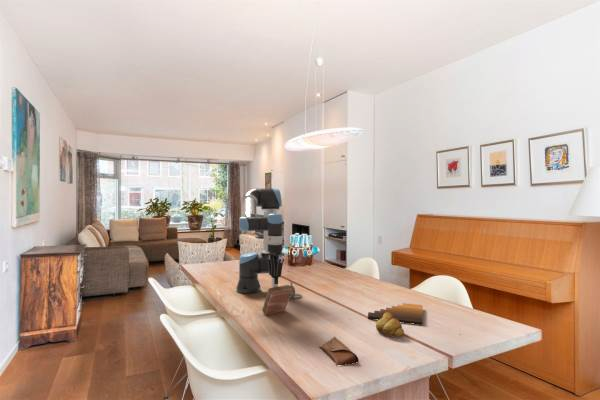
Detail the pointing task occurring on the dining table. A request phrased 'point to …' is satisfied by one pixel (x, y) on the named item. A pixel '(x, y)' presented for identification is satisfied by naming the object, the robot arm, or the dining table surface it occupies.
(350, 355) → the sunglasses case
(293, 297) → the pocket watch
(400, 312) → the pan flute
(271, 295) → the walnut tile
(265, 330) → the dining table surface
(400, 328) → the bread roll
